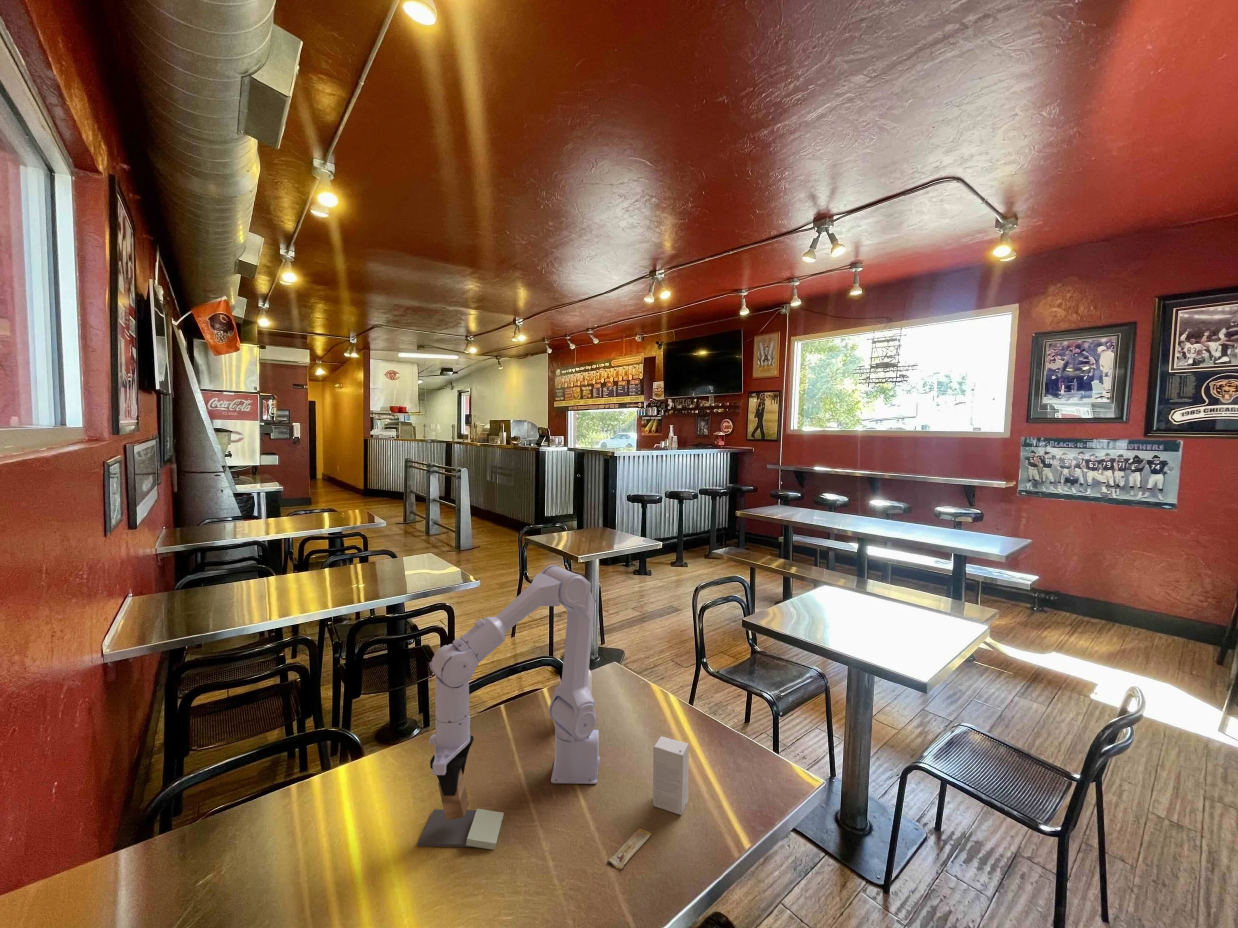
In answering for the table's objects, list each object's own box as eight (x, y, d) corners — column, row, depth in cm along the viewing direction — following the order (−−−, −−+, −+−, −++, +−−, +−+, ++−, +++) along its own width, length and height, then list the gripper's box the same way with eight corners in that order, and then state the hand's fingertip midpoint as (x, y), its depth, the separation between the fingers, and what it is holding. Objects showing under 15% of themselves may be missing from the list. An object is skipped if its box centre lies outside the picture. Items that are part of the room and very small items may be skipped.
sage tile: (503, 812, 96) (477, 808, 95) (495, 843, 89) (467, 838, 88) (502, 819, 96) (475, 815, 96) (494, 850, 89) (465, 845, 89)
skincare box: (688, 801, 101) (690, 743, 100) (681, 816, 97) (683, 755, 96) (659, 792, 103) (660, 734, 103) (651, 806, 100) (652, 746, 99)
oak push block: (468, 804, 95) (461, 768, 94) (463, 817, 91) (455, 780, 91) (451, 806, 95) (444, 771, 94) (446, 820, 91) (438, 783, 91)
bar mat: (486, 812, 97) (486, 809, 97) (474, 846, 89) (474, 844, 89) (433, 811, 97) (433, 809, 97) (417, 845, 89) (417, 843, 89)
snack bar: (637, 826, 94) (651, 828, 92) (639, 835, 94) (653, 837, 92) (605, 860, 86) (619, 863, 85) (607, 869, 86) (621, 873, 84)
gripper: (443, 692, 99) (444, 760, 100) (413, 738, 85) (414, 816, 85) (480, 693, 99) (480, 760, 100) (456, 738, 85) (457, 817, 85)
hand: (453, 786), depth 93 cm, fingers closed on oak push block, 3 cm apart
